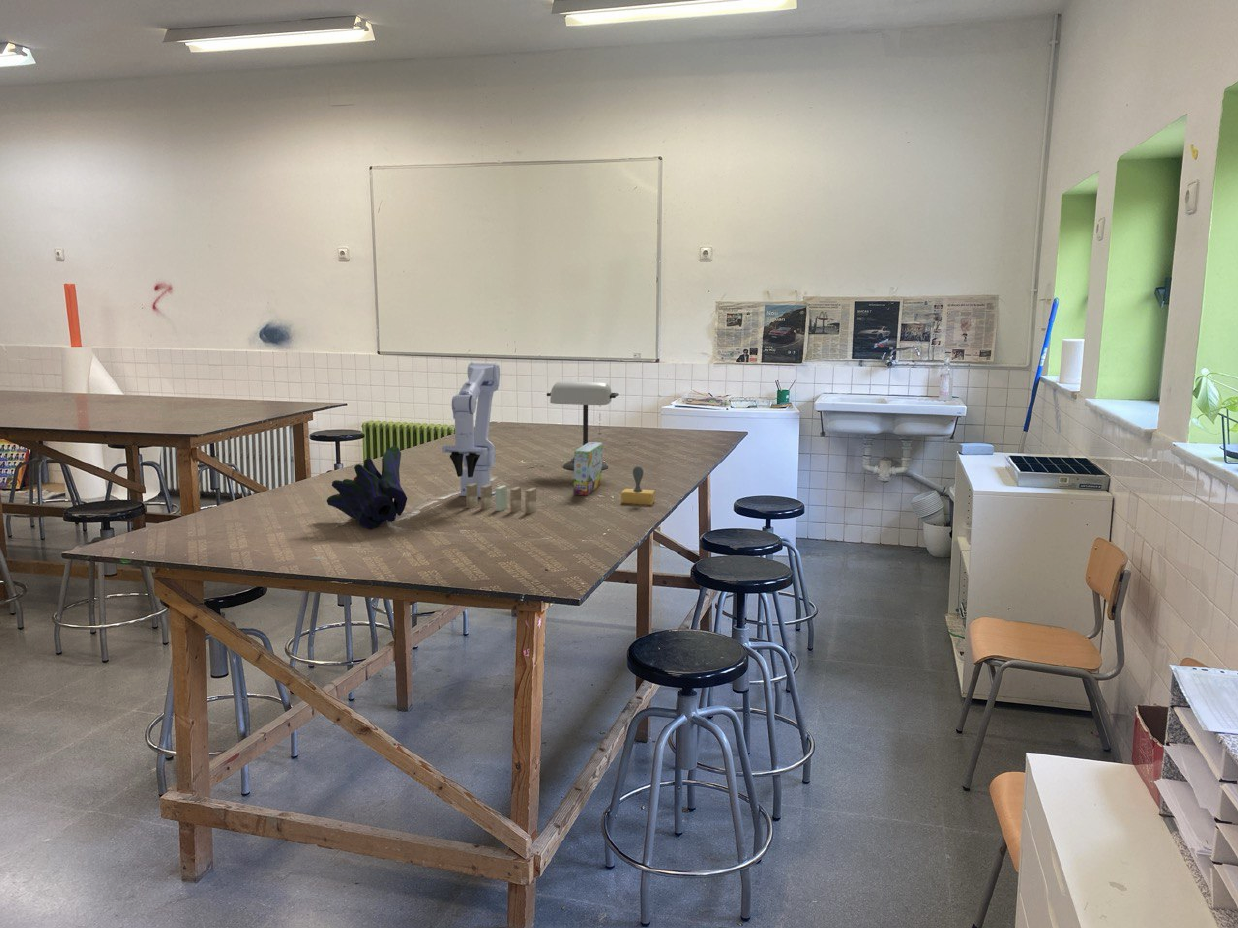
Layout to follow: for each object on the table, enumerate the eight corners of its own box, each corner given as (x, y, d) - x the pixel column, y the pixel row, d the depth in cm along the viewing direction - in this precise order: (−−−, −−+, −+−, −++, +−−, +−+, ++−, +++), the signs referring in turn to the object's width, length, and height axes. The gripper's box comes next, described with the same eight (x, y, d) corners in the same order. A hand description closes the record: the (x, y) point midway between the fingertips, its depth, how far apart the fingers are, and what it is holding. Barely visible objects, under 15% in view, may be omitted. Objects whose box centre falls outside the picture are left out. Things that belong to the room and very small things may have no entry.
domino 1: (466, 507, 278) (466, 485, 277) (473, 504, 282) (472, 483, 281) (471, 508, 277) (470, 486, 276) (477, 505, 281) (477, 483, 280)
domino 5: (525, 513, 272) (525, 490, 270) (531, 510, 276) (531, 488, 275) (530, 513, 271) (530, 491, 270) (536, 510, 275) (536, 488, 274)
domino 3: (495, 510, 275) (495, 488, 274) (502, 507, 279) (502, 485, 278) (500, 510, 274) (500, 488, 273) (506, 507, 278) (506, 485, 277)
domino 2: (481, 509, 276) (480, 487, 275) (487, 506, 280) (487, 484, 279) (485, 509, 276) (485, 487, 275) (492, 506, 280) (491, 484, 279)
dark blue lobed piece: (357, 561, 251) (332, 513, 275) (441, 519, 259) (410, 475, 282) (327, 505, 240) (304, 459, 263) (416, 462, 247) (385, 421, 270)
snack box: (589, 496, 297) (589, 451, 294) (572, 495, 298) (572, 450, 295) (602, 483, 317) (603, 441, 315) (587, 482, 319) (587, 441, 316)
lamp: (542, 472, 336) (542, 382, 330) (557, 461, 360) (557, 377, 354) (612, 475, 332) (612, 384, 326) (622, 464, 356) (623, 379, 350)
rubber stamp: (620, 503, 287) (621, 466, 285) (624, 499, 292) (625, 463, 290) (651, 505, 285) (652, 468, 283) (654, 501, 290) (655, 464, 288)
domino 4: (510, 511, 273) (510, 489, 272) (516, 508, 277) (516, 486, 276) (515, 512, 273) (515, 489, 271) (521, 509, 277) (521, 487, 276)
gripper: (436, 433, 275) (438, 477, 277) (479, 436, 270) (480, 480, 273) (447, 430, 281) (448, 473, 284) (490, 433, 277) (490, 476, 279)
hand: (465, 476), depth 279 cm, fingers open, 3 cm apart
